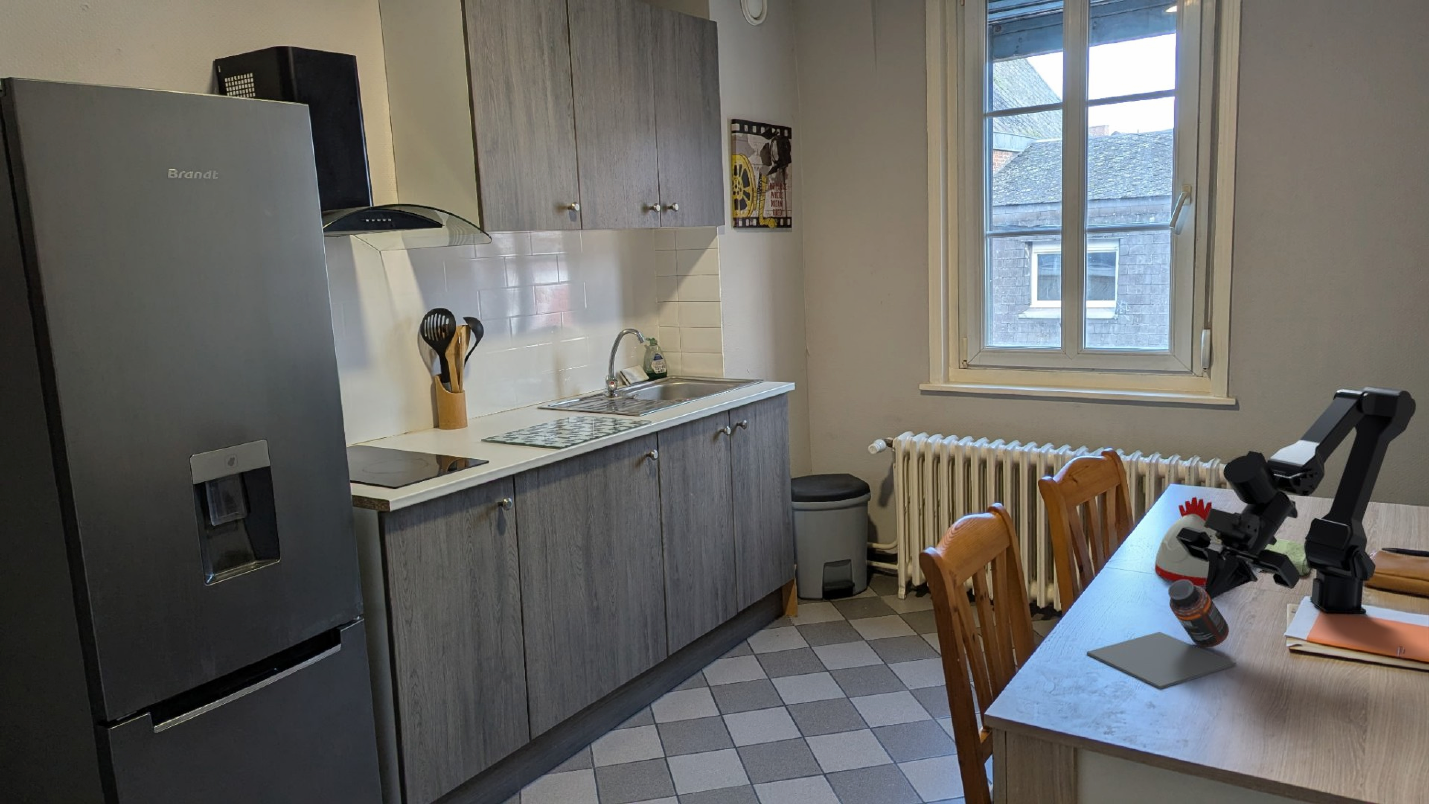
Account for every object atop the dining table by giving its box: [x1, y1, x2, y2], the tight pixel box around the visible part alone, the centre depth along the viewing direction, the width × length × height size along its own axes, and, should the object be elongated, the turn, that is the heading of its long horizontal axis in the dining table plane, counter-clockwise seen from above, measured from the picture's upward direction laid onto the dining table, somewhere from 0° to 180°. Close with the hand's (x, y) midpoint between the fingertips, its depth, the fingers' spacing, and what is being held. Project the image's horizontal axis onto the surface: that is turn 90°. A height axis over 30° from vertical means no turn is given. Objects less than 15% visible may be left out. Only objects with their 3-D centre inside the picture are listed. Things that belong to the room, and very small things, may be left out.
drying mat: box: [1086, 631, 1236, 690], centre depth 154 cm, size 16×14×1 cm
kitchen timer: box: [1154, 496, 1222, 587], centre depth 190 cm, size 14×14×15 cm
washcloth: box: [1265, 538, 1311, 577], centre depth 198 cm, size 13×18×3 cm
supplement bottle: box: [1167, 580, 1230, 648], centre depth 157 cm, size 6×6×11 cm
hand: (1206, 597), depth 157 cm, fingers closed, pressing on supplement bottle
